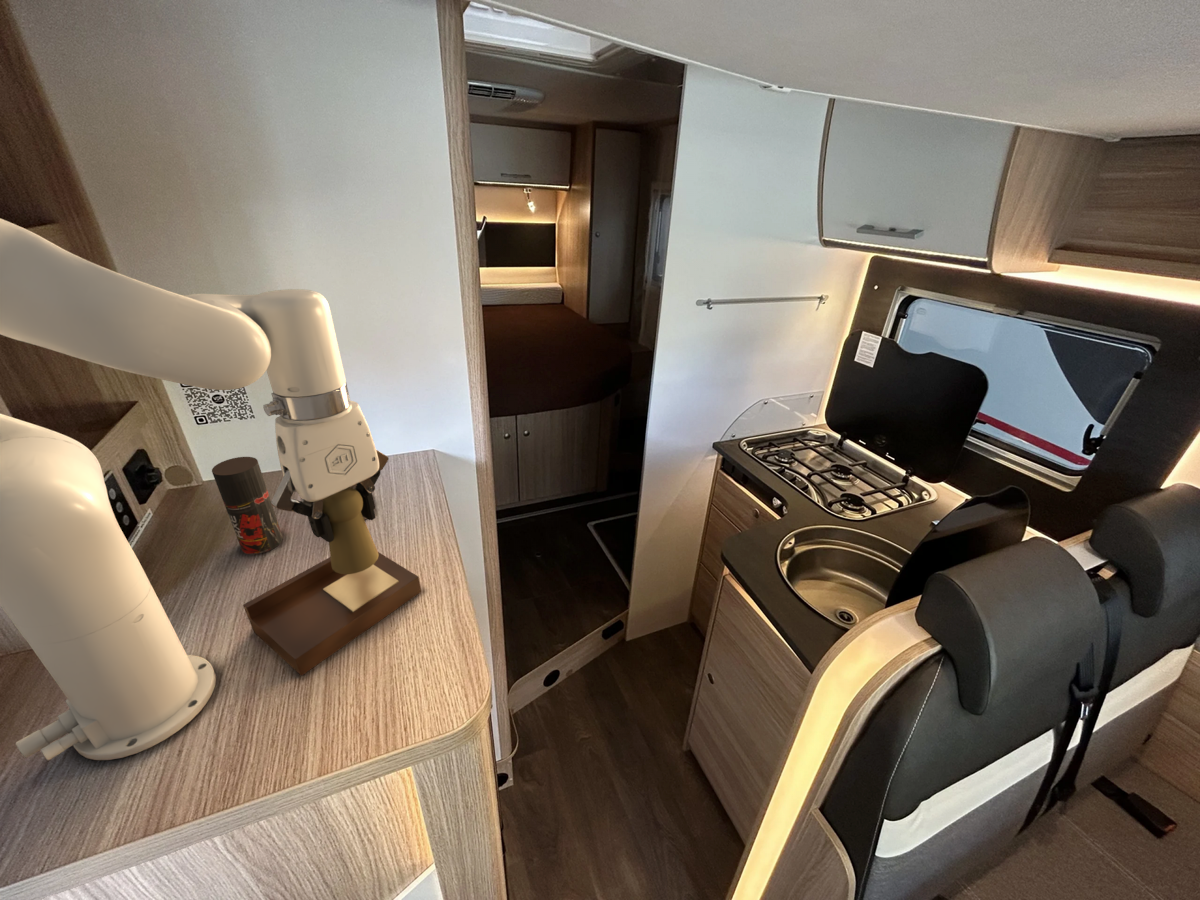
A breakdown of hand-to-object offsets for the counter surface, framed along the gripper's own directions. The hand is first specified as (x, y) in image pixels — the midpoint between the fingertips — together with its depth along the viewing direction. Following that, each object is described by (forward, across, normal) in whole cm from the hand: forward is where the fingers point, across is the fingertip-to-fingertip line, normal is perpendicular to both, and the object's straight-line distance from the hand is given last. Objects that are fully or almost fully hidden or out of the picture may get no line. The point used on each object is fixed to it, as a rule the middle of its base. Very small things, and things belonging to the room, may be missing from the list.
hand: (346, 525), depth 66 cm
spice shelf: (+14, -3, +1) cm, 14 cm away
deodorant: (+14, -2, +26) cm, 29 cm away
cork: (+6, 0, 0) cm, 6 cm away
